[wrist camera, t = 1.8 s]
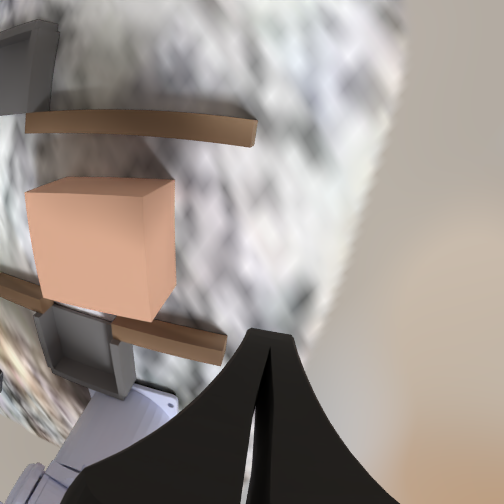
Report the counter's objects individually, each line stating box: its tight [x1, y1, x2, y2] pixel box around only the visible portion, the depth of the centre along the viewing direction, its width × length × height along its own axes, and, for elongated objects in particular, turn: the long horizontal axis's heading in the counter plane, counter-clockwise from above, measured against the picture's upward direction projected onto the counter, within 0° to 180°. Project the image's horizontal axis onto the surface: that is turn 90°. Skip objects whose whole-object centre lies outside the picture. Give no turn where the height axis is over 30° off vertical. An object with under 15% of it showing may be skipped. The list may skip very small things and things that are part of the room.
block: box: [25, 177, 176, 322], centre depth 16 cm, size 6×7×4 cm
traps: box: [0, 19, 136, 401], centre depth 17 cm, size 25×13×2 cm, turn 172°
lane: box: [0, 109, 258, 366], centre depth 16 cm, size 13×32×2 cm, turn 82°
